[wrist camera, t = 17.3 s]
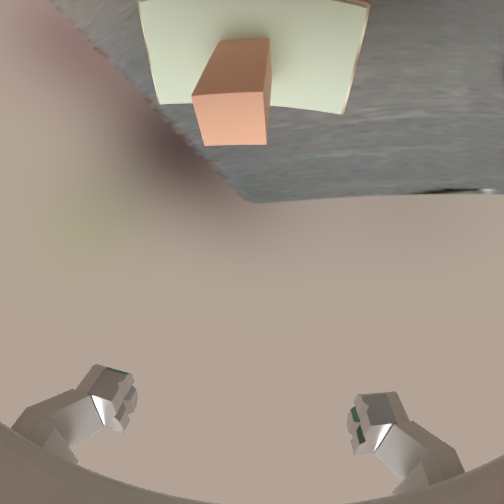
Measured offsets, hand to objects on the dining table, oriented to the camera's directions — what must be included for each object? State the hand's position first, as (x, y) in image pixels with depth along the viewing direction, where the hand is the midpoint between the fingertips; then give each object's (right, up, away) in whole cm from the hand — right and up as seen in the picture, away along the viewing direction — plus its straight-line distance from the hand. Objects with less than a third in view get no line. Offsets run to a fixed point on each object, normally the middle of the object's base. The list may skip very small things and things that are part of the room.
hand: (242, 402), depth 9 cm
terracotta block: (0, +21, +11) cm, 24 cm away
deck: (0, +25, +12) cm, 27 cm away
